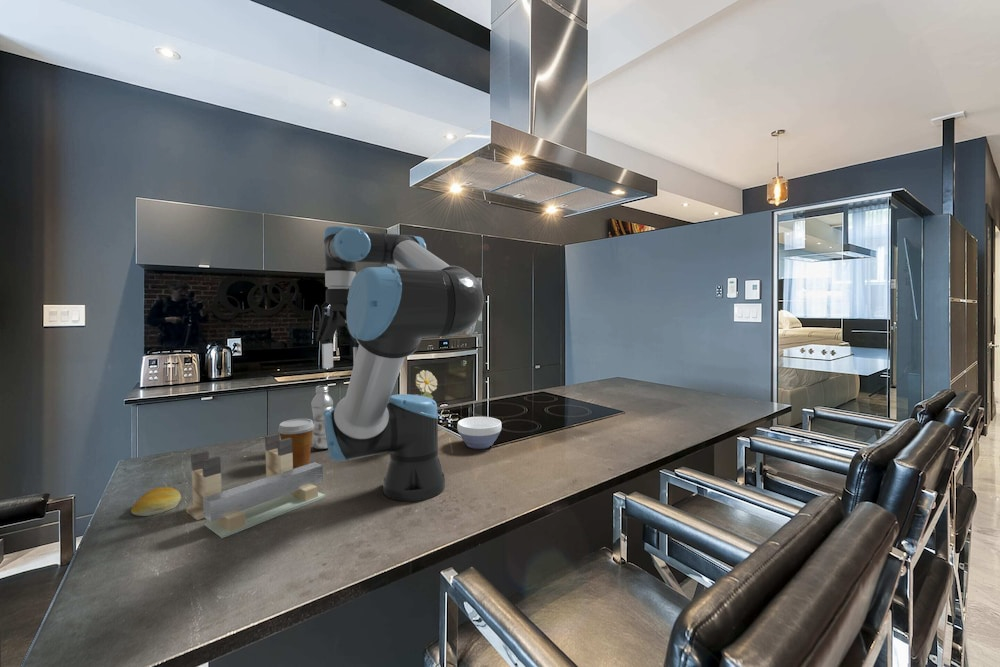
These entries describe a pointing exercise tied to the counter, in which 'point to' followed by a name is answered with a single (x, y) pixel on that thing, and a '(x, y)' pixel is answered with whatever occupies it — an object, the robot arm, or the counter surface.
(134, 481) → the counter surface
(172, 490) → the bread roll
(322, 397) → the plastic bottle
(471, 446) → the bowl
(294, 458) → the disposable coffee cup
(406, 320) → the robot arm
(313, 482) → the rail
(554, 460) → the counter surface
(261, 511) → the rest pad
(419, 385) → the flower in vase
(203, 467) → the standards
